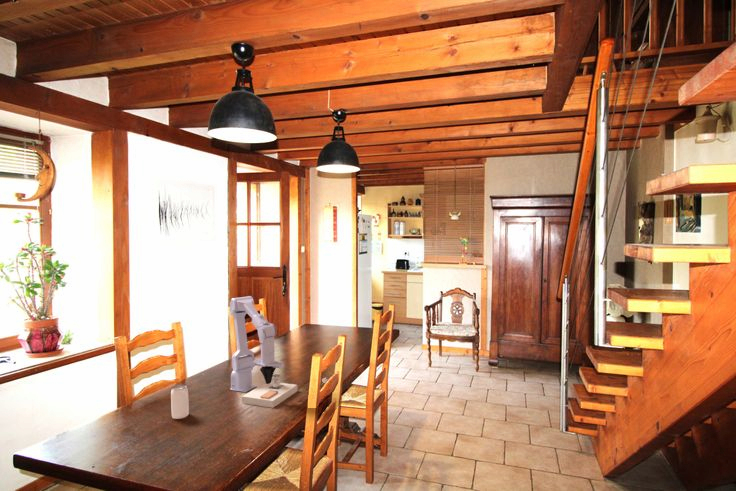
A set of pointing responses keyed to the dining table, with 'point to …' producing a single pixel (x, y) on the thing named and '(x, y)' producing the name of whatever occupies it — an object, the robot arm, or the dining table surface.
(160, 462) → the dining table surface
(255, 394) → the plate
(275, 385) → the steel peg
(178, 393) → the can
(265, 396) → the block
